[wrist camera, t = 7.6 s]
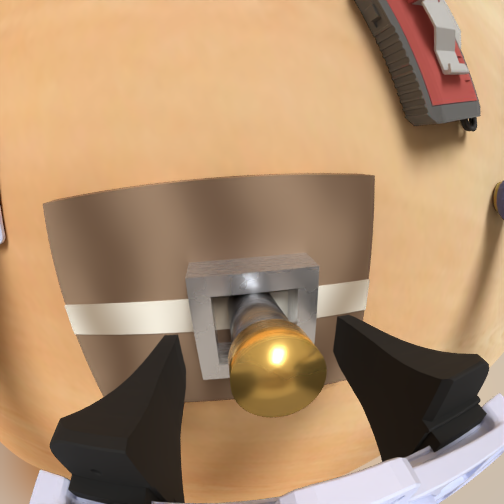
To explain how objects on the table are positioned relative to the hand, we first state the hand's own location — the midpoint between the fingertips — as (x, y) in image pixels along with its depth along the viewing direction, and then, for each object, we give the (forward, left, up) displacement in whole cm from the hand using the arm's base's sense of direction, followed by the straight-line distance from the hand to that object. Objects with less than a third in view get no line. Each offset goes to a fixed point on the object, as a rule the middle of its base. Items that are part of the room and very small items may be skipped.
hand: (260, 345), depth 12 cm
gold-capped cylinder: (0, 0, -3) cm, 3 cm away
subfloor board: (-2, 0, -5) cm, 5 cm away
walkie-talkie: (+12, +20, -6) cm, 24 cm away
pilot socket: (0, 0, -3) cm, 3 cm away
